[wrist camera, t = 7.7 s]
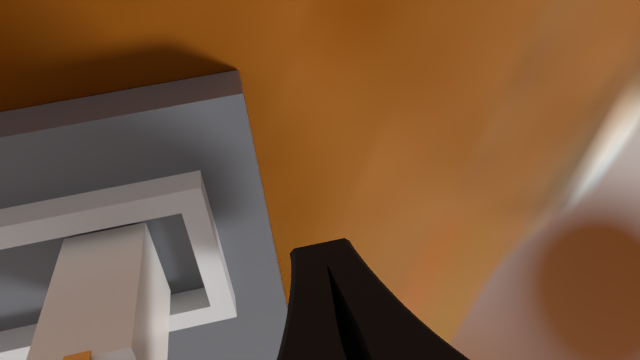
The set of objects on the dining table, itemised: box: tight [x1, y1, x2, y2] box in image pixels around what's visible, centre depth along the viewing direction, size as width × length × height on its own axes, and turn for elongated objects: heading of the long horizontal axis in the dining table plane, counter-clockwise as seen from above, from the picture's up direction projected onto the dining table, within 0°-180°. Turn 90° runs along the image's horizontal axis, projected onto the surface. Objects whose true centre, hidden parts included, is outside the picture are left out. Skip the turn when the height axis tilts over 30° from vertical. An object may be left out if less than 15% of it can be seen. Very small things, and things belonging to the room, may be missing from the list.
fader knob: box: [26, 222, 171, 360], centre depth 13 cm, size 2×2×4 cm
